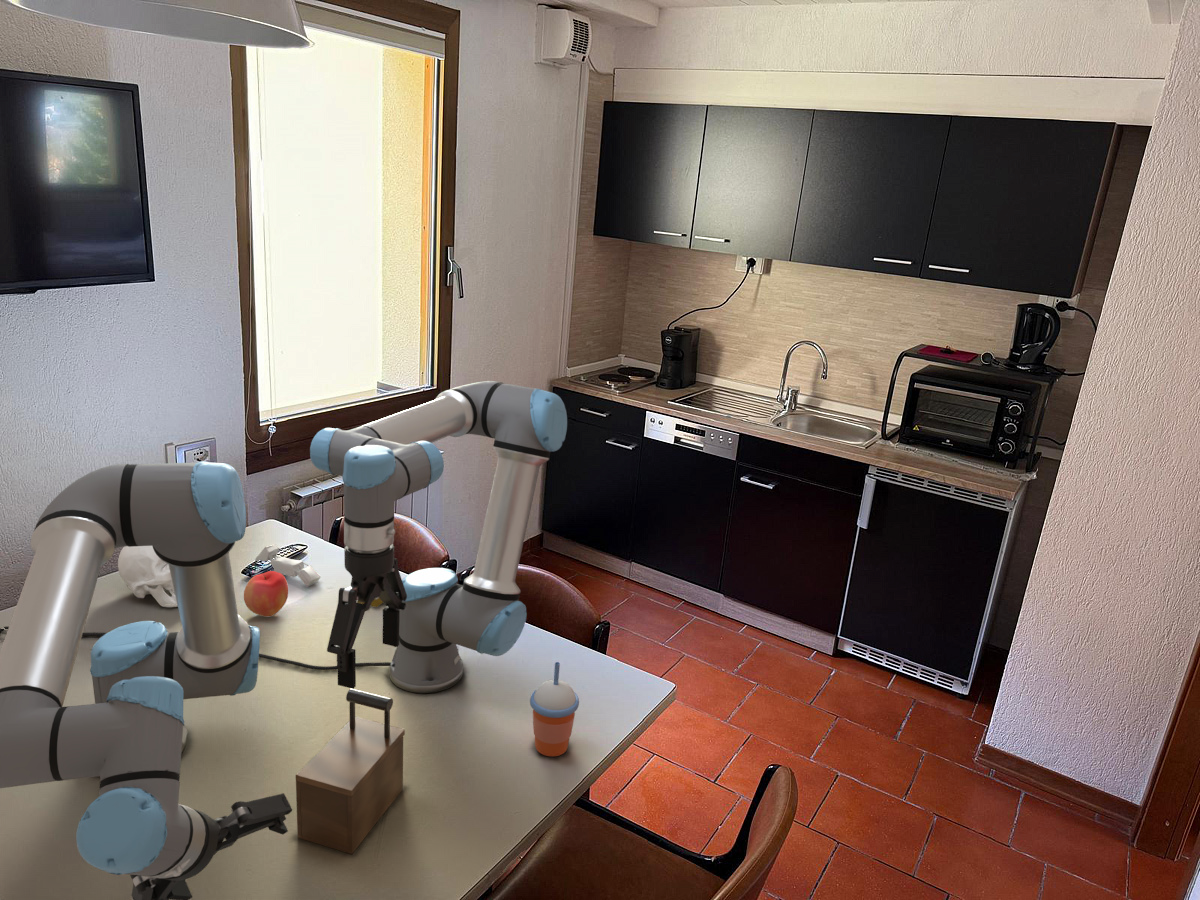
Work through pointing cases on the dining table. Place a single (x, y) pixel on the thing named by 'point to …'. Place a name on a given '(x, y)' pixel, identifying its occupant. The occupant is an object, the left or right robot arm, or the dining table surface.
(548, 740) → the cup with straw
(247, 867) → the dining table surface
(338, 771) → the lid
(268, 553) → the white angular piece
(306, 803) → the chest
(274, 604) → the apple
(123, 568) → the skull
